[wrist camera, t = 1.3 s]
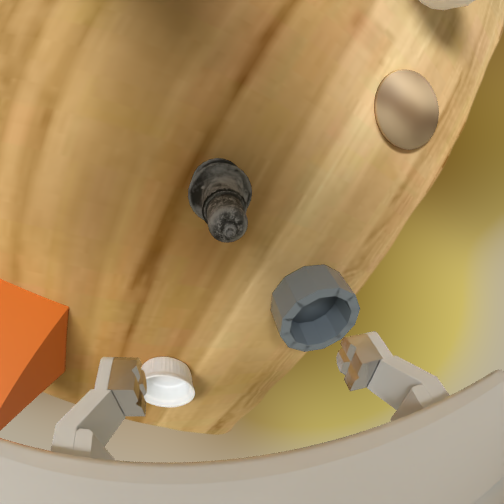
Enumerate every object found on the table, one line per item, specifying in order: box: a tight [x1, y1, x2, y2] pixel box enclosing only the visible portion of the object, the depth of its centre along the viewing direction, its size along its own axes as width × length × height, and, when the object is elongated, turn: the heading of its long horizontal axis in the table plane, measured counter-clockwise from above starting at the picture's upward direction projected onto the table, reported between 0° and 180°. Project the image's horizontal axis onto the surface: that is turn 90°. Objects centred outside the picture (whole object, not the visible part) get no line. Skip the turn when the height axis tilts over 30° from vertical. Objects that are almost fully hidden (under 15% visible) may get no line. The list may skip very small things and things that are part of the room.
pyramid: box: [0, 279, 69, 430], centre depth 26 cm, size 16×16×20 cm
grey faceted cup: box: [271, 265, 360, 352], centre depth 38 cm, size 10×10×5 cm
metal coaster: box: [374, 70, 439, 150], centre depth 29 cm, size 10×10×1 cm
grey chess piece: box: [188, 158, 252, 242], centre depth 25 cm, size 6×6×12 cm
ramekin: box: [141, 357, 195, 407], centre depth 41 cm, size 9×9×4 cm
